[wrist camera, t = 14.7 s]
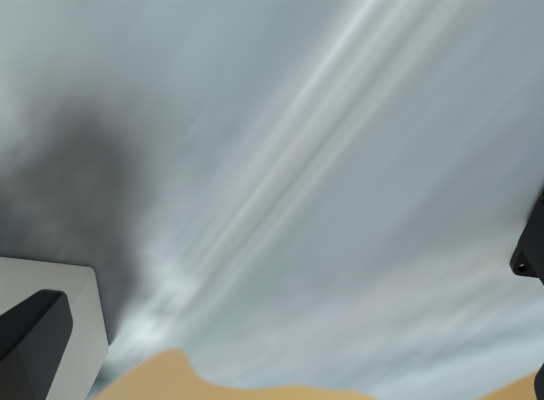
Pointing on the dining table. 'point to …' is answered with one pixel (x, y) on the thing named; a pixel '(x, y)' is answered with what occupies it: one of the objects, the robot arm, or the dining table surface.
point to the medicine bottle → (85, 312)
